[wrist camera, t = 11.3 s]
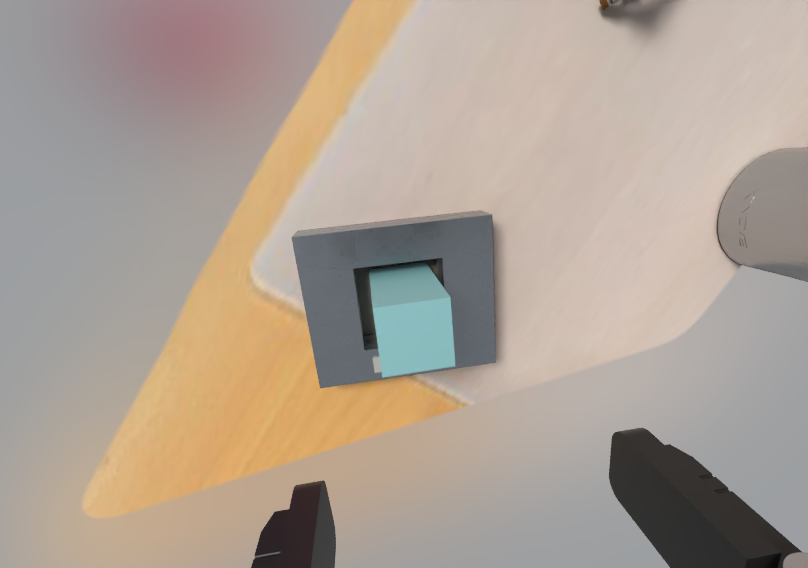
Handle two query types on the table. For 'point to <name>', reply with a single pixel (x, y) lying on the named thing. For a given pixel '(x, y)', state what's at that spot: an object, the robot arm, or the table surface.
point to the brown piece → (607, 3)
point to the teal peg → (411, 319)
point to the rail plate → (389, 244)
